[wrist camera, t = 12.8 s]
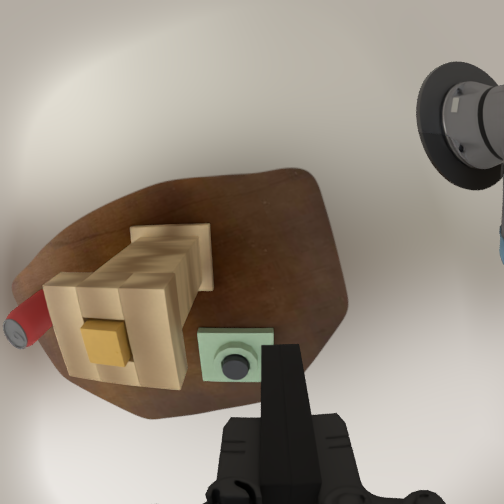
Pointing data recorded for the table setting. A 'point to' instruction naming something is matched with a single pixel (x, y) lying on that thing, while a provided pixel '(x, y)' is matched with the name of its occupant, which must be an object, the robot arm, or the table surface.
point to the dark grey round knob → (235, 367)
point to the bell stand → (136, 303)
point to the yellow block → (106, 341)
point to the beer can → (28, 321)
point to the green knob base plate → (232, 350)
